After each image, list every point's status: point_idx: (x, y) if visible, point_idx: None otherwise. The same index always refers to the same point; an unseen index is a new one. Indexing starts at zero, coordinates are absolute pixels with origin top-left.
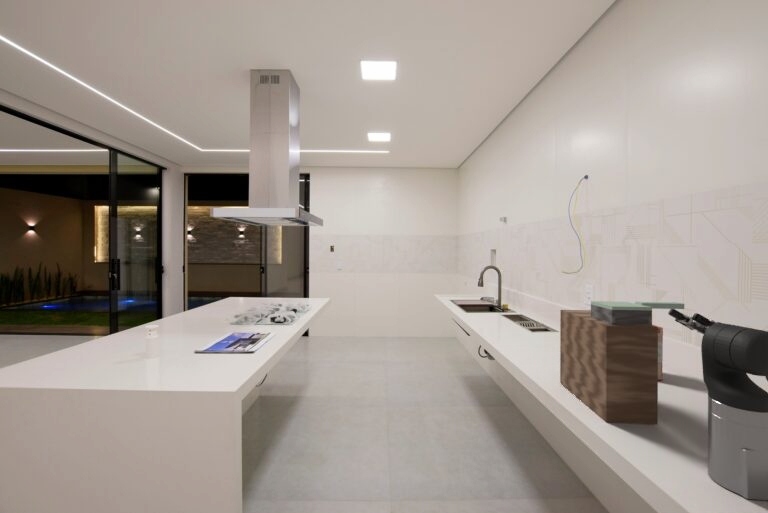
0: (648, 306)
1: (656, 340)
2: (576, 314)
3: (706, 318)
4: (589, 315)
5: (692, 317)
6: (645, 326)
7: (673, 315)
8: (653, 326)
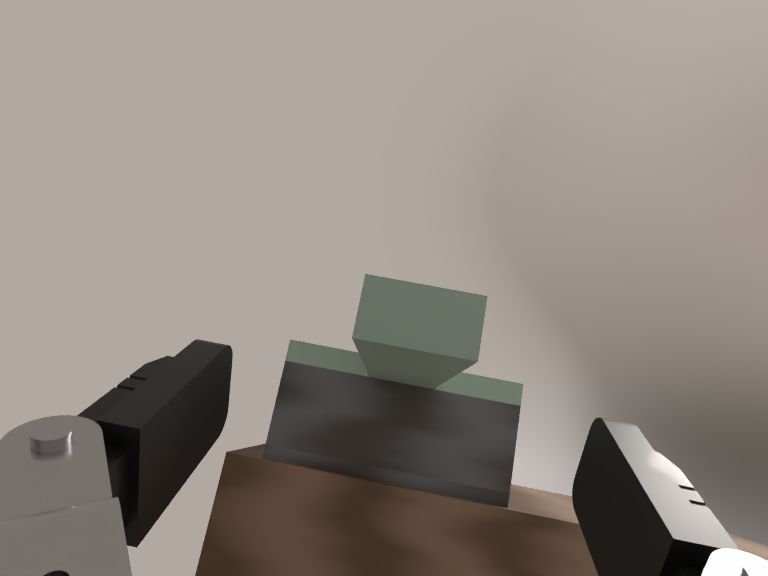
0: (312, 344)
1: (204, 546)
2: (550, 493)
3: (127, 400)
4: (542, 496)
5: (223, 404)
6: (247, 448)
7: (591, 525)
8: (238, 451)
